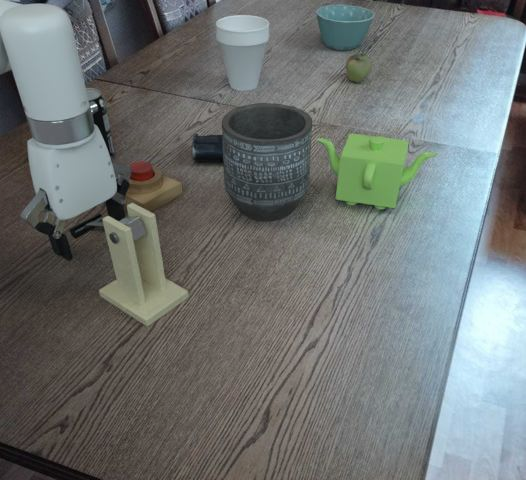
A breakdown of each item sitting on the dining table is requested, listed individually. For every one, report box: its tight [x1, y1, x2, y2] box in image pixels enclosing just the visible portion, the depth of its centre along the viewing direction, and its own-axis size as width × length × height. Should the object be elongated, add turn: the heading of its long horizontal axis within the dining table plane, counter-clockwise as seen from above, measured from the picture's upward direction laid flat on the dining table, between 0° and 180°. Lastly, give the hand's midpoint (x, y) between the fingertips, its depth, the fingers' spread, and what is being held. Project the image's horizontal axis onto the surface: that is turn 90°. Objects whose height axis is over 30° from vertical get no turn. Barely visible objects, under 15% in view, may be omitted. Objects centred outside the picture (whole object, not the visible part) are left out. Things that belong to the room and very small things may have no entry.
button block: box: [116, 164, 184, 213], centre depth 97 cm, size 10×9×4 cm
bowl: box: [315, 4, 375, 51], centre depth 152 cm, size 16×16×8 cm
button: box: [129, 161, 154, 181], centre depth 95 cm, size 4×4×2 cm
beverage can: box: [86, 87, 116, 159], centre depth 104 cm, size 7×7×12 cm
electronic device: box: [191, 132, 224, 163], centre depth 107 cm, size 9×6×15 cm
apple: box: [345, 53, 371, 84], centre depth 135 cm, size 6×8×6 cm
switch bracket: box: [98, 203, 190, 328], centre depth 74 cm, size 10×8×13 cm
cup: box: [215, 14, 270, 92], centre depth 129 cm, size 12×12×14 cm
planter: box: [221, 102, 313, 222], centre depth 90 cm, size 14×14×15 cm
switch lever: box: [69, 213, 147, 241], centre depth 74 cm, size 13×5×2 cm, turn 50°
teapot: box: [316, 133, 438, 210], centre depth 94 cm, size 15×13×11 cm
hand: (92, 241), depth 79 cm, fingers open, 9 cm apart
